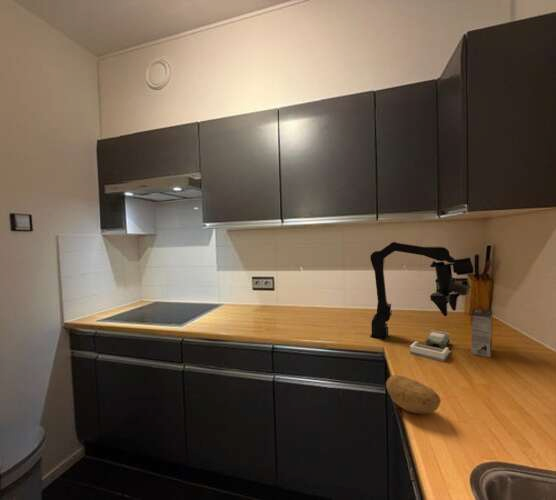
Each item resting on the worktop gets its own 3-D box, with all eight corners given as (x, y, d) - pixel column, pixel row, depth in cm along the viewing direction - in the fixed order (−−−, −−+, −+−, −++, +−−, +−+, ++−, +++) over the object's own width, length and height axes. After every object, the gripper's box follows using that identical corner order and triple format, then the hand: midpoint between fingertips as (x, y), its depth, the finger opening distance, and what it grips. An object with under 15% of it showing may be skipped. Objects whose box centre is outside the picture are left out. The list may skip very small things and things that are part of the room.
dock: (409, 353, 115) (409, 346, 115) (418, 345, 123) (418, 338, 123) (443, 361, 107) (443, 353, 107) (450, 352, 115) (450, 344, 115)
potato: (430, 430, 71) (430, 399, 71) (379, 405, 82) (379, 377, 82) (447, 414, 77) (447, 385, 77) (397, 392, 88) (397, 366, 88)
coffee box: (473, 346, 120) (473, 307, 119) (492, 349, 116) (492, 309, 115) (470, 353, 113) (470, 312, 112) (491, 357, 109) (491, 315, 108)
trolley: (424, 345, 122) (424, 334, 122) (430, 339, 128) (430, 329, 128) (445, 350, 117) (445, 339, 117) (450, 344, 123) (450, 333, 123)
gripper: (457, 280, 110) (463, 321, 110) (473, 271, 122) (479, 308, 122) (427, 280, 118) (432, 318, 118) (445, 272, 130) (450, 307, 130)
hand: (450, 313), depth 122 cm, fingers open, 9 cm apart
